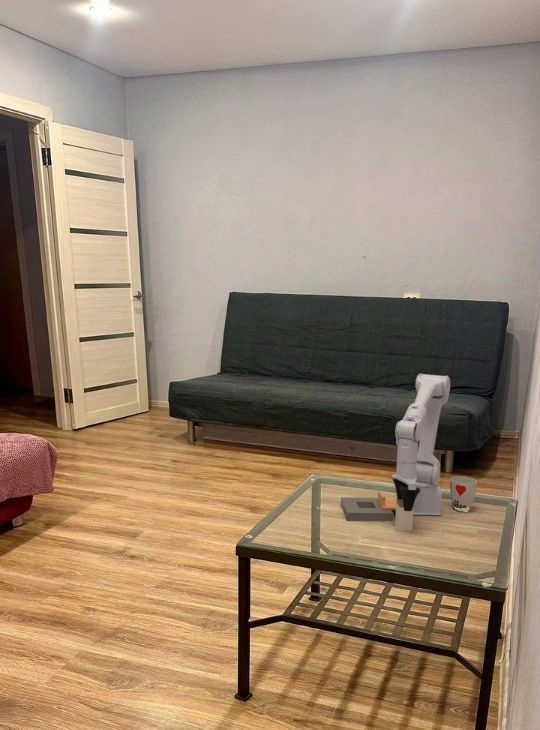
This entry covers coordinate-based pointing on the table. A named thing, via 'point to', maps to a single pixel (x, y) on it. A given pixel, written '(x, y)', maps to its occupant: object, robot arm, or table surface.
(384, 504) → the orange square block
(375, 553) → the table surface
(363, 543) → the table surface
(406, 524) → the beige rectangular block
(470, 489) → the cup
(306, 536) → the table surface
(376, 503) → the socket housing
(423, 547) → the table surface
